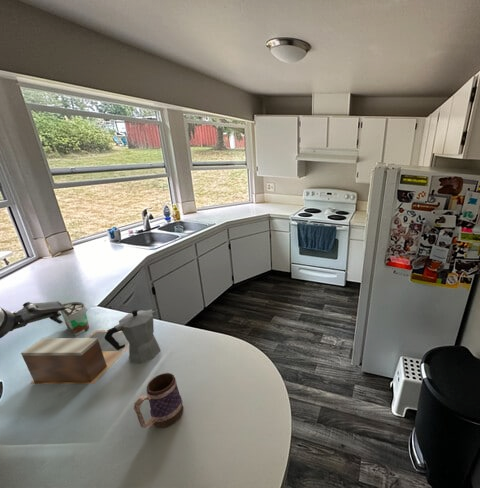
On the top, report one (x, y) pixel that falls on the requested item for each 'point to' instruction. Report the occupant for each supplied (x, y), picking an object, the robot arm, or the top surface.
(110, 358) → the wooden board
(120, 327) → the coffeepot
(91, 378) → the brown rectangular block
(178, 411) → the mug
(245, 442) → the top surface
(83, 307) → the food container
